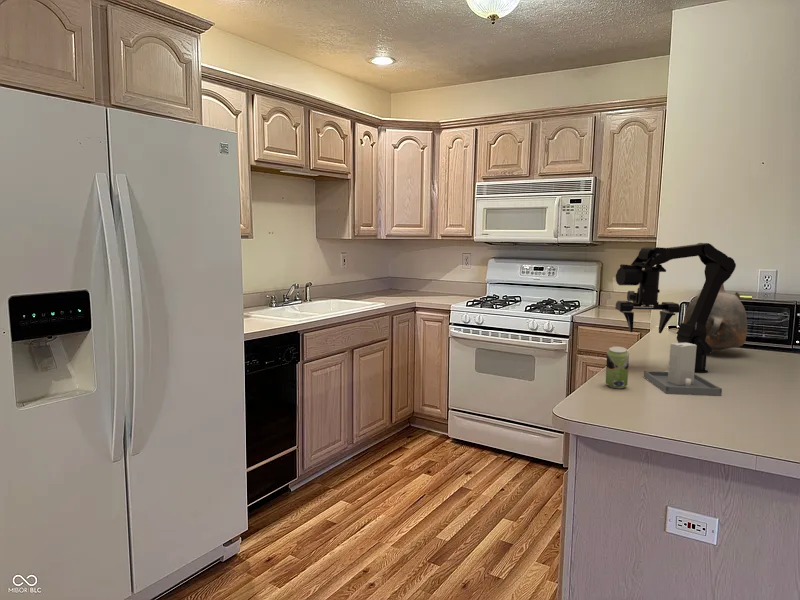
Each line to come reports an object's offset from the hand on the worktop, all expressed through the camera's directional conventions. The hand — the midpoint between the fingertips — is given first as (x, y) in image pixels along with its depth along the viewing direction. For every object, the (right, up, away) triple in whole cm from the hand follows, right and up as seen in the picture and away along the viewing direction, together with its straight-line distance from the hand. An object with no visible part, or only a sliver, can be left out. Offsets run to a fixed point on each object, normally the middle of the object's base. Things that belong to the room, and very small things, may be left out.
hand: (645, 332), depth 178 cm
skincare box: (+3, -15, -16) cm, 22 cm away
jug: (+41, -10, +32) cm, 53 cm away
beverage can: (-17, -15, -18) cm, 29 cm away
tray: (+3, -15, -16) cm, 22 cm away
